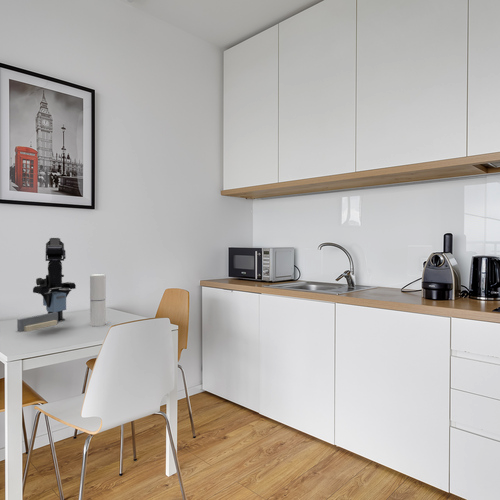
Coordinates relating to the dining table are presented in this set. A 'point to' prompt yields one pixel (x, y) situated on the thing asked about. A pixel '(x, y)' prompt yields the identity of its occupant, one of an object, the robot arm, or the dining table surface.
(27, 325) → the wall board
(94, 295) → the cylindrical container
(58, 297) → the blue block
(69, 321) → the dining table surface
